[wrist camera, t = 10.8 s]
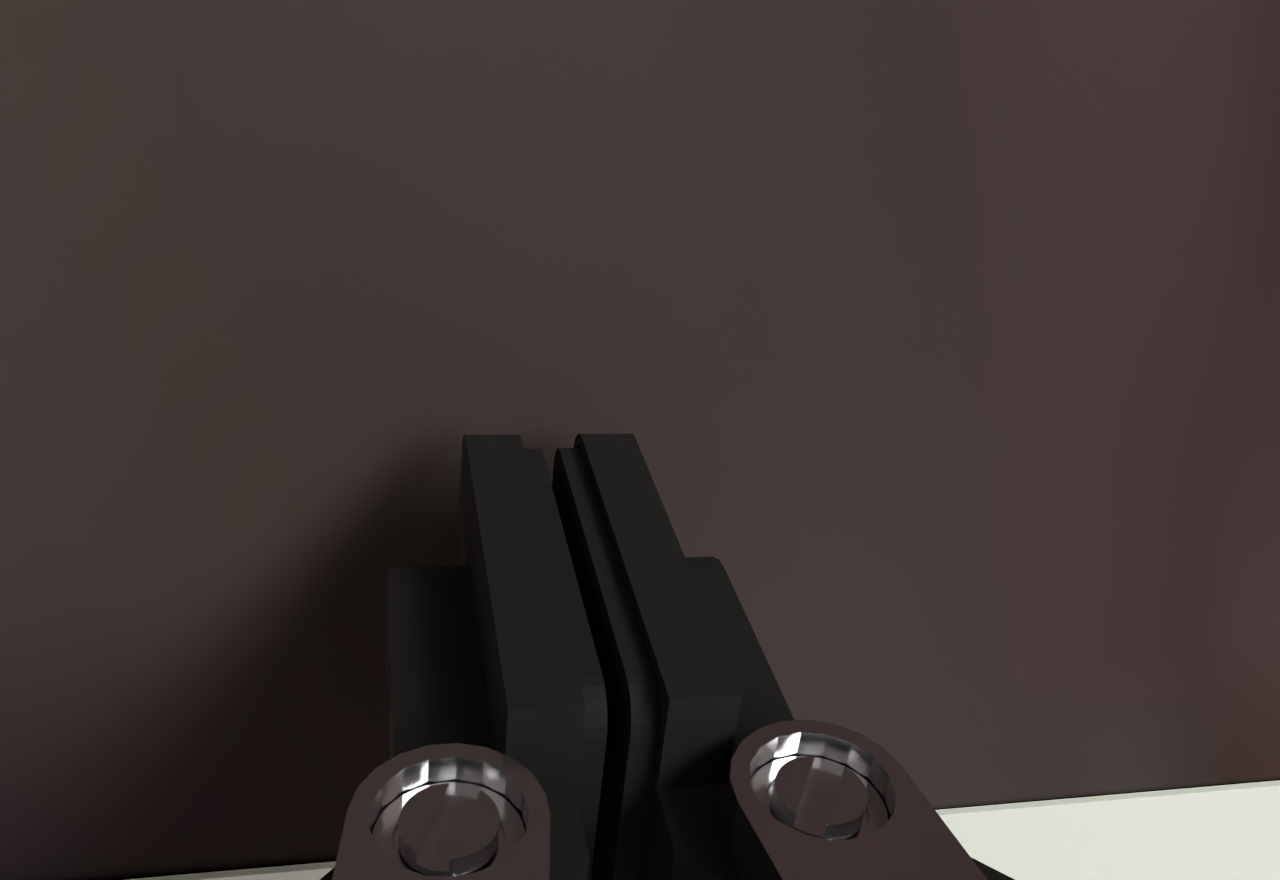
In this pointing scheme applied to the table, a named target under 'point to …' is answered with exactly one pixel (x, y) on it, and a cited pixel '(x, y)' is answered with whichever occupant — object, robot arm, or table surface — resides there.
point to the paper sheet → (1073, 837)
